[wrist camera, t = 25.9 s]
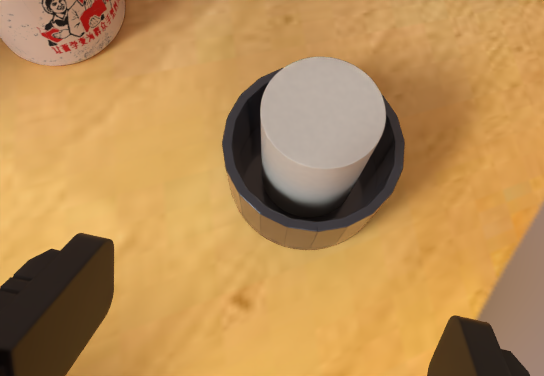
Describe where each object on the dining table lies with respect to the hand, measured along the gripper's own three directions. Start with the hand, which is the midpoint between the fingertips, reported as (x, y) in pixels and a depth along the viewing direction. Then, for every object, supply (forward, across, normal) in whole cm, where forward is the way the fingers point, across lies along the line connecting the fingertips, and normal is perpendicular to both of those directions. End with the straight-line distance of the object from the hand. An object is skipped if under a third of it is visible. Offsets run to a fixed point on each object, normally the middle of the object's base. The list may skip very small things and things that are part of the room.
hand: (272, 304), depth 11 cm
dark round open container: (+18, 0, +4) cm, 18 cm away
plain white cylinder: (+17, 0, +4) cm, 18 cm away
